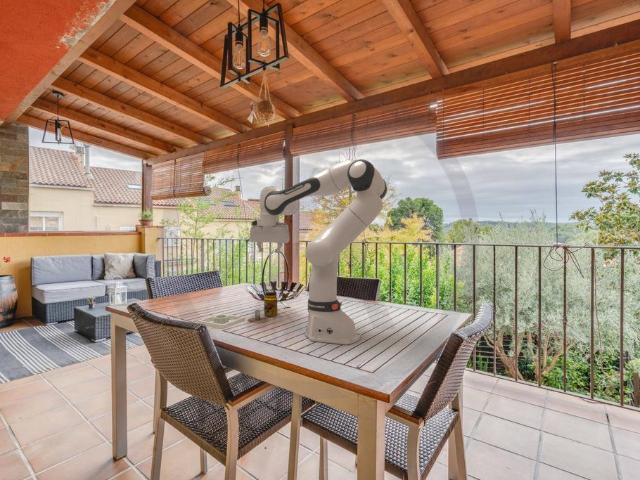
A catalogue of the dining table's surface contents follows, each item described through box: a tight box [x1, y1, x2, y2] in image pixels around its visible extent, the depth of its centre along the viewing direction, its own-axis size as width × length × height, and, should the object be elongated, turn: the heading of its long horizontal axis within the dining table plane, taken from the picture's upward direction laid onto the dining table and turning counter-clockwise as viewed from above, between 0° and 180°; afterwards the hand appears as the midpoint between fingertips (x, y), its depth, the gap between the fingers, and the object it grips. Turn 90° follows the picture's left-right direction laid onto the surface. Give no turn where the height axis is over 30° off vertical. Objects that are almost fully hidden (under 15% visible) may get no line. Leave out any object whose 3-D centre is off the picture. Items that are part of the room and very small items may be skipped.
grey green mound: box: [247, 309, 268, 324], centre depth 156 cm, size 9×9×5 cm
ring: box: [213, 314, 230, 324], centre depth 151 cm, size 6×6×3 cm
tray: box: [197, 313, 246, 330], centre depth 151 cm, size 14×14×2 cm
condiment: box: [263, 291, 278, 318], centre depth 165 cm, size 7×8×12 cm
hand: (269, 252), depth 159 cm, fingers open, 8 cm apart
